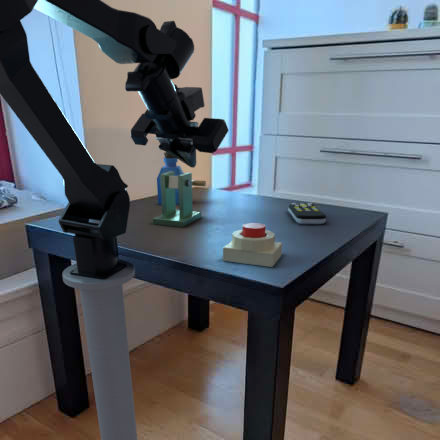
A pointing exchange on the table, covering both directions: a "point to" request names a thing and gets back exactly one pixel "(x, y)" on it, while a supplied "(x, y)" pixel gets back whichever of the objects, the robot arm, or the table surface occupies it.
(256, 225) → the button
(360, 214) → the table surface
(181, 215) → the bracket
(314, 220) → the remote control
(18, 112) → the robot arm
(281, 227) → the table surface
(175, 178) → the lever
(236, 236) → the control box
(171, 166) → the perfume bottle
